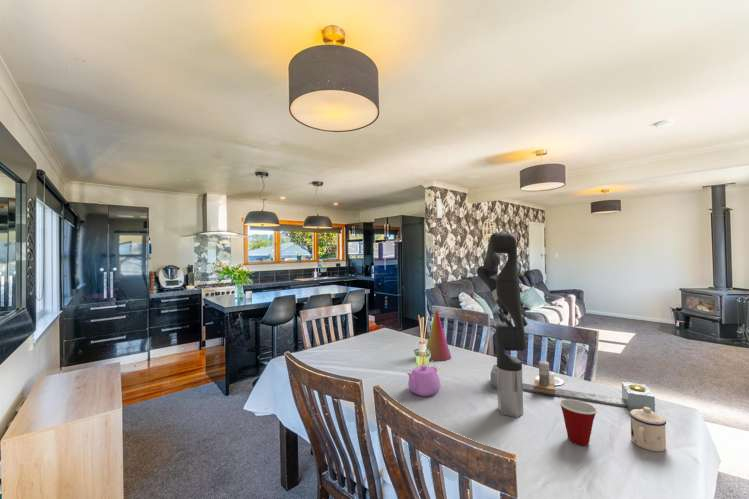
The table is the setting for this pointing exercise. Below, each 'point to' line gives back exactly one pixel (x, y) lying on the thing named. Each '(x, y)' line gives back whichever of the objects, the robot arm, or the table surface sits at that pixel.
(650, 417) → the teacup with lid
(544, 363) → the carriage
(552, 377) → the candle holder
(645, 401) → the rail
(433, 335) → the decorative cone
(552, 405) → the table surface
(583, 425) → the plastic cup
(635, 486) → the table surface
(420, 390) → the teapot
